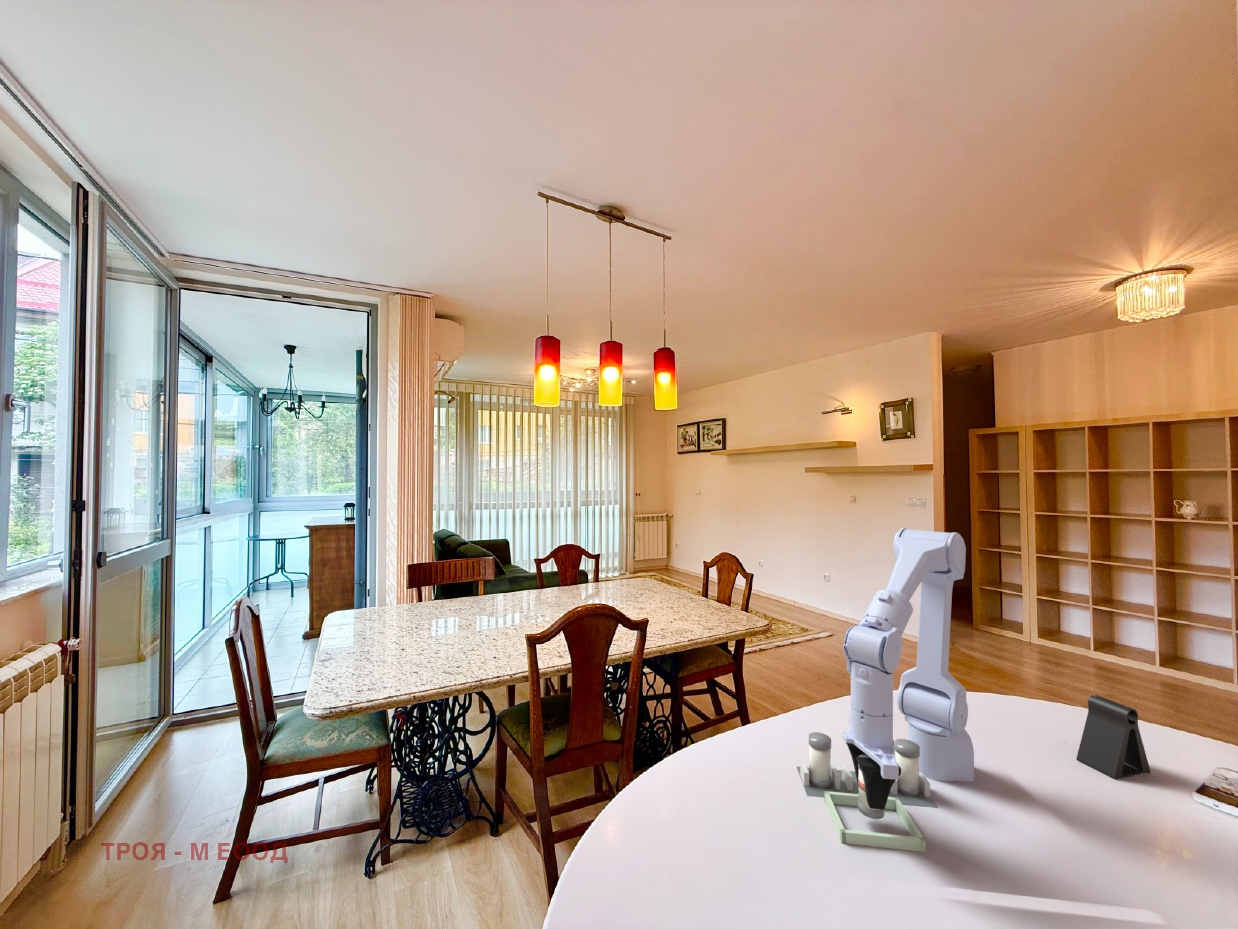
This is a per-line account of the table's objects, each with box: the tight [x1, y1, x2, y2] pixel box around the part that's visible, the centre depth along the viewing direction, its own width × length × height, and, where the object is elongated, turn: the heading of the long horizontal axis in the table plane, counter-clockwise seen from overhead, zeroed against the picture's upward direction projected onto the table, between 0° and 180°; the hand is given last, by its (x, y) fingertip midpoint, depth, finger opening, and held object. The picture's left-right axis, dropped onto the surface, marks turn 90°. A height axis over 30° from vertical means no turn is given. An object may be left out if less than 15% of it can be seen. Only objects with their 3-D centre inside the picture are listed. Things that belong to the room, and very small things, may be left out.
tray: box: [823, 791, 927, 853], centre depth 75 cm, size 11×9×3 cm
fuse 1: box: [808, 731, 832, 789], centre depth 85 cm, size 4×4×8 cm
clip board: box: [796, 762, 939, 809], centre depth 84 cm, size 20×8×3 cm, turn 82°
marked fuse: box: [857, 754, 885, 820], centre depth 75 cm, size 4×4×8 cm
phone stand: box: [1076, 694, 1151, 780], centre depth 92 cm, size 9×6×12 cm, turn 103°
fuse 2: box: [894, 738, 920, 797], centre depth 83 cm, size 4×4×8 cm
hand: (871, 798), depth 75 cm, fingers closed on marked fuse, 3 cm apart
